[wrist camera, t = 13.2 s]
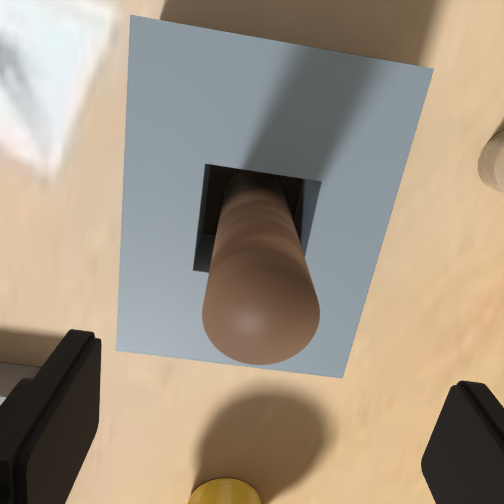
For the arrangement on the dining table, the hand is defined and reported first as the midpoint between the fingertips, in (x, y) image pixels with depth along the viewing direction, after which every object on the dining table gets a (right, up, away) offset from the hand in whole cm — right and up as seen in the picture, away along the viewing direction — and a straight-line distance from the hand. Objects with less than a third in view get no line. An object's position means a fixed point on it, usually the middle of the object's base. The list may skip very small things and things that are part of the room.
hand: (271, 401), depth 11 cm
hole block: (0, +8, +17) cm, 19 cm away
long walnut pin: (0, +8, +17) cm, 19 cm away
